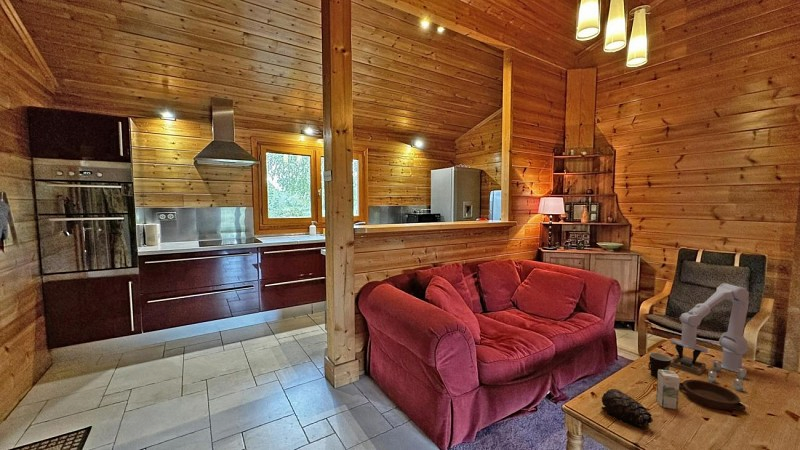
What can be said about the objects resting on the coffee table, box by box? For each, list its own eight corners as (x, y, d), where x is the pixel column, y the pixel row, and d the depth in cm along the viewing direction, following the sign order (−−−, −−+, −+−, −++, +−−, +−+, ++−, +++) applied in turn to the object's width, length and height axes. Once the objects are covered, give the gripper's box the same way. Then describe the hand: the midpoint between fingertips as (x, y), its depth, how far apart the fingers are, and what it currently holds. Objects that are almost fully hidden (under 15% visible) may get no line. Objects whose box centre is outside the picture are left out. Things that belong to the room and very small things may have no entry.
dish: (740, 422, 130) (741, 410, 130) (671, 396, 148) (671, 385, 148) (749, 406, 140) (750, 394, 140) (683, 383, 158) (683, 373, 158)
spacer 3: (737, 376, 164) (738, 366, 163) (746, 378, 161) (747, 368, 161) (736, 378, 162) (737, 368, 162) (745, 380, 160) (746, 370, 159)
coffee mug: (662, 371, 168) (663, 352, 168) (674, 381, 160) (675, 361, 159) (638, 370, 170) (638, 352, 169) (649, 379, 161) (649, 360, 160)
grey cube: (682, 364, 175) (683, 355, 175) (693, 368, 172) (694, 358, 171) (680, 367, 173) (680, 358, 172) (691, 370, 169) (691, 361, 169)
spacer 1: (708, 379, 161) (709, 369, 161) (716, 381, 159) (717, 371, 158) (706, 381, 159) (707, 371, 159) (715, 384, 157) (715, 373, 157)
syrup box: (671, 402, 143) (673, 370, 142) (678, 410, 137) (679, 377, 136) (656, 400, 145) (657, 368, 144) (661, 408, 139) (663, 375, 138)
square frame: (676, 359, 181) (676, 355, 181) (705, 368, 171) (705, 364, 171) (669, 366, 174) (669, 361, 174) (699, 375, 164) (699, 371, 164)
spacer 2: (713, 368, 171) (714, 359, 171) (721, 371, 169) (721, 361, 168) (712, 370, 169) (712, 361, 169) (720, 372, 167) (720, 363, 166)
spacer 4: (734, 387, 154) (734, 377, 154) (743, 390, 151) (744, 379, 151) (732, 389, 152) (733, 379, 152) (742, 392, 150) (742, 382, 149)
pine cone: (649, 436, 123) (650, 410, 122) (597, 412, 137) (598, 389, 136) (657, 424, 129) (658, 399, 129) (607, 402, 143) (607, 380, 143)
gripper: (669, 333, 175) (667, 358, 176) (705, 343, 163) (704, 369, 164) (673, 330, 179) (672, 354, 180) (709, 339, 167) (707, 365, 168)
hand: (687, 361), depth 172 cm, fingers closed on grey cube, 4 cm apart
